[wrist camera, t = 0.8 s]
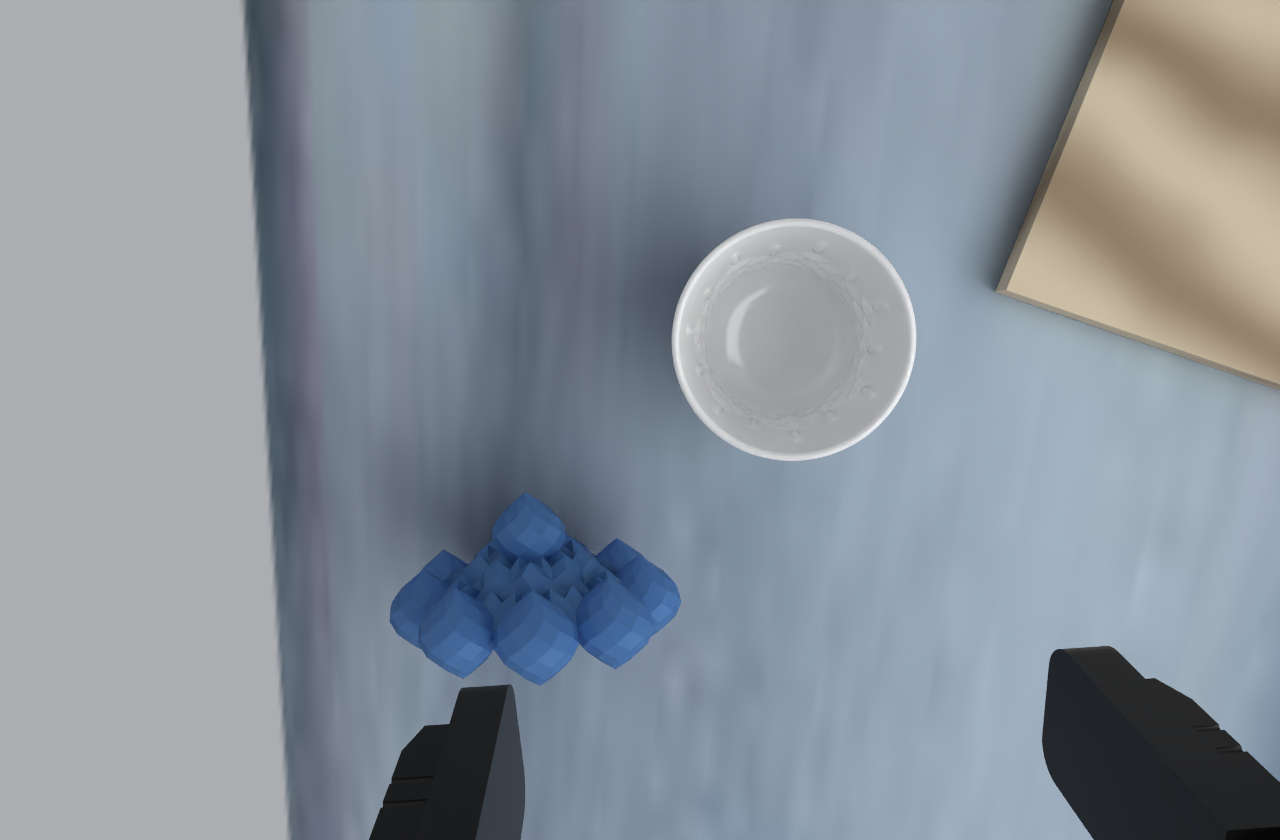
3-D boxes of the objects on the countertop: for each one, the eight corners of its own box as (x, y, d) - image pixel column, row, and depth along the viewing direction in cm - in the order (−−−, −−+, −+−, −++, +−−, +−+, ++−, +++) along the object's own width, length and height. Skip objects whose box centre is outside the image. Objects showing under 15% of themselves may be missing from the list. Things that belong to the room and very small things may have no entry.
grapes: (683, 461, 38) (661, 518, 26) (692, 605, 39) (675, 724, 27) (436, 474, 40) (309, 534, 28) (449, 614, 40) (331, 731, 28)
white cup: (697, 241, 37) (685, 207, 27) (879, 258, 37) (933, 230, 27) (678, 417, 38) (659, 446, 28) (854, 437, 37) (898, 474, 28)
